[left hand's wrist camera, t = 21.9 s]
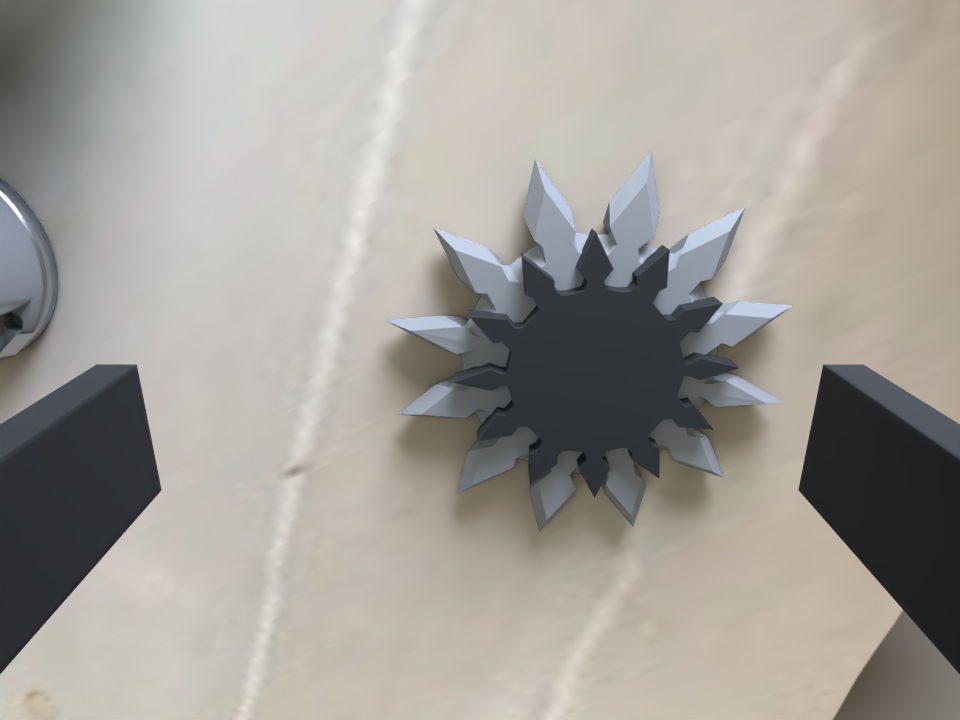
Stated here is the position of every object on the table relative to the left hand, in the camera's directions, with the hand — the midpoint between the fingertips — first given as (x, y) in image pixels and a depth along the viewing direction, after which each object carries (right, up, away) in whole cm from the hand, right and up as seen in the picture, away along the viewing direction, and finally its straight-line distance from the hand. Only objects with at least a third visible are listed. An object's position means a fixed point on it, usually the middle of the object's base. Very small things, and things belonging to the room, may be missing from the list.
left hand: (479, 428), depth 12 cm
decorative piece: (+8, +2, +35) cm, 36 cm away
